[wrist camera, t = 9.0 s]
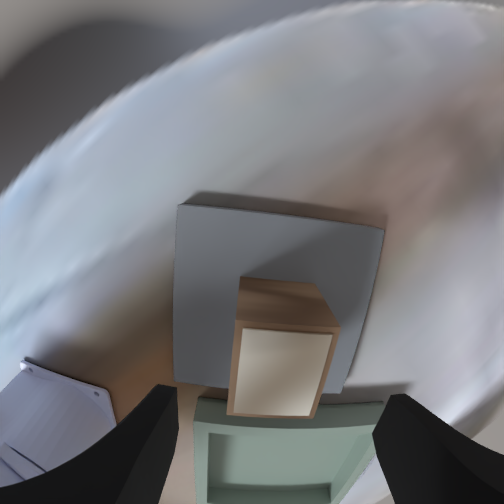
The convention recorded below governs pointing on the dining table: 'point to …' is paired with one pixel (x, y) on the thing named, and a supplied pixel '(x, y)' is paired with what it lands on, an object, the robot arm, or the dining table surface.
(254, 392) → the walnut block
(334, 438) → the bin
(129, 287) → the dining table surface
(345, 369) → the slate mat
